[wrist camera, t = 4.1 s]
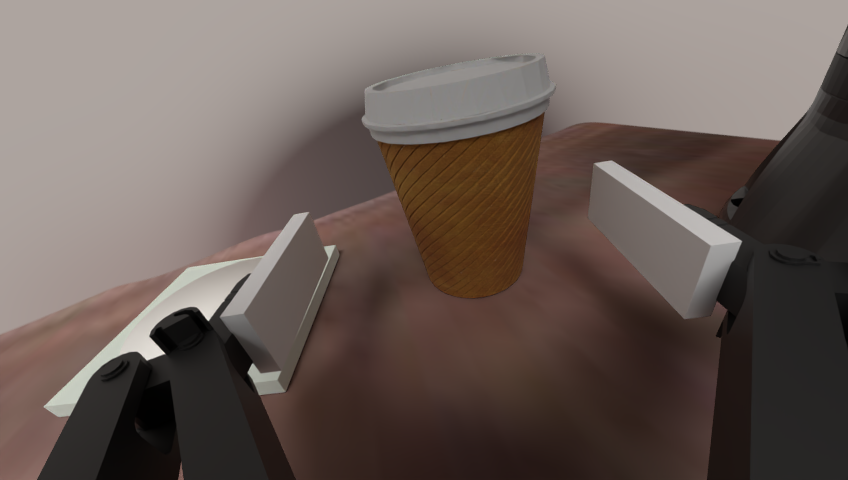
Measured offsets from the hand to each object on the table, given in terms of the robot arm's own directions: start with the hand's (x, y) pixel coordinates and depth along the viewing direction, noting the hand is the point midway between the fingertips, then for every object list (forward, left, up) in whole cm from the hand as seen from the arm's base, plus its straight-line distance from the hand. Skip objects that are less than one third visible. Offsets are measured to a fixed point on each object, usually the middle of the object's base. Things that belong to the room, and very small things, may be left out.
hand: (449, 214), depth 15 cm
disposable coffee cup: (-1, -4, -7) cm, 8 cm away
